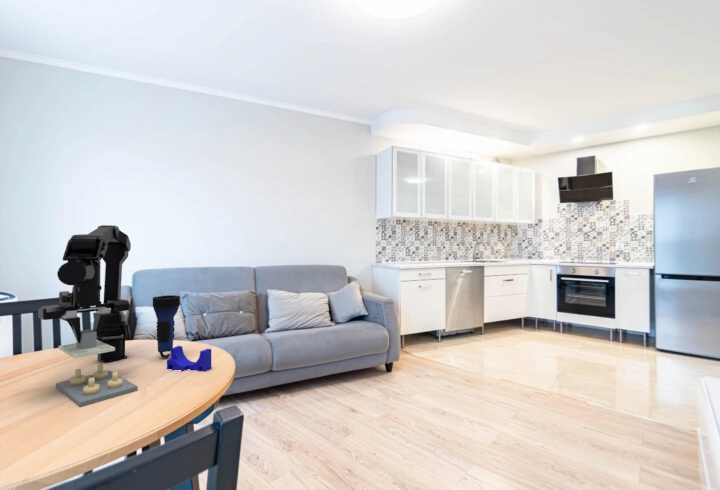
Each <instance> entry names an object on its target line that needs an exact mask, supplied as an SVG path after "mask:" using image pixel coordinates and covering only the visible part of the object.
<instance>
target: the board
mask: <svg viewBox="0 0 720 490" xmlns="http://www.w3.org/2000/svg"><path fill="white" fill-rule="evenodd" d="M96 335H97V332H96V331H93V329H85V330H84V329H83V330H81V340H80V343H77V342H74V343H73V342H72V343H70V344H68V343H67V344H63V345H62V344H61V345H58V350H60V351H61V352H63V353H64V354H67V355H68V356H69V357H71V358H73V359H78V358H83V357H88V356H94V355H98V354H100V353H105V352H110V351H115V347H112V346H110V345H108V344H106V343H103V342H101V341H99V340H96Z"/></svg>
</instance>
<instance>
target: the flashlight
mask: <svg viewBox="0 0 720 490" xmlns="http://www.w3.org/2000/svg"><path fill="white" fill-rule="evenodd" d="M180 305H181V296H180V295H173V294H172V295H170V294H169V295H159V296H154V297H152V307H153V311H154V314H155V316H156V342H157V352H158V353H159V355H160V356H161V357H162V358H163V359H167V358H168V359H169V357H171V353H167V352H171V348H174V339H175V325H176V324H175V316H176V314H177V313H178V311H179V308H180ZM164 353H167V354H166V355H165V354H164Z"/></svg>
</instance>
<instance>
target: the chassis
mask: <svg viewBox="0 0 720 490" xmlns="http://www.w3.org/2000/svg"><path fill="white" fill-rule="evenodd" d="M55 388H56V389H58V390H59V391H60V392H61V393H63V395H64V396H66V397H67V398H69V399H70V400H71V401H72V402H74V404H76V405H77V406H79V408H82V407H84V406H89V405H92V404H94V403H95V404H96V403H99V402H102V401H105V400H108V399H113V398H115V397H116V398H117V397H120V396H124V395H125V394H126V395H127V394H130V393H134V392H137V391H138V390H139V389H138V388H139V386H138V385H136V384H135V383H132V382H130V381H128V379H125V378H123V377H121V376H119V372H118V371H114V372H112V371H111V370H106V369H104V363H101V364H98V365H97V371H94V372H93V373H92V374H91V375H90V374H89V375H83V374H82V369H81V368H77V369H75V370H74V376H72V377H70V378H69V380H65V381H60V382H56V383H55Z"/></svg>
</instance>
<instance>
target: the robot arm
mask: <svg viewBox="0 0 720 490" xmlns="http://www.w3.org/2000/svg"><path fill="white" fill-rule="evenodd" d="M131 247H132V244H131V240H130V238H129V236H128V234H126V233H125V232H123V231H121V230H120V228H119V226H118V225H111V224H110V225H109V224H108V225H105V224H103V225H98V227H97V228H96V229H94V230H92V231H91V232H89V233H83V234H82V233H81V234H73V235H71V237H70V238H69V239H68V241H67V244H66V247H65V250H64V253H63V256H62V261H67V262H65V263H63V264H61V265H60V267H59V268H58V270H57V273H56V274H57V279H58V280H59V281H60V282H61V283H62V284H63V285H67V286H72V291H71V292H70V291H68V290H66V291H64V290H63V291H59V293H58V302H59V304H53V305H43V306H40V307H39V308H38V309H37V310H38V312H37V318H38V319H40V320H43V321H49V320H56V319H57V320H58V319H60V320H63V321H65V322H67V324H68V325H69V326H70V329H71V330H72V333H73V335H74V338H75V340H76V343H80V340H81V331H82V330H81V327H82V326H81V317H80V316H78V314H80V313H81V314H82V313H89V312H92V315H93V323H92V324H93V325H92V330H93V331H96V332H97V335H96V340H99V341H101V342H103V343H106V344H108V345H110V346H112V347H115V351H110V352H105V353H100V354H97V360H98V361H100V362H103V363H110V362H113V361H119V360H123V359H127V358H128V356H127V355H126V340H129V339H131V331H130V327H129V324H128V321H127V320H126V314H124V312H126V311H130V310H131V303H130V301H129V300H128V299H123V298H121V296H122V295H121V294H122V293H121V292H122V274H123V264H124V263H125V262H126V260H127V259H128V258H129V253H130V251H131ZM102 260H103V262H104V264H105V266H104V268H105V271H104V285H103V286H104V288H102V285H101V266H102V265H101V264H102V263H101V261H102ZM102 289H104V290H103V303H102V301H101V290H102ZM63 305H67V306H65V307H64V306H63Z"/></svg>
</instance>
